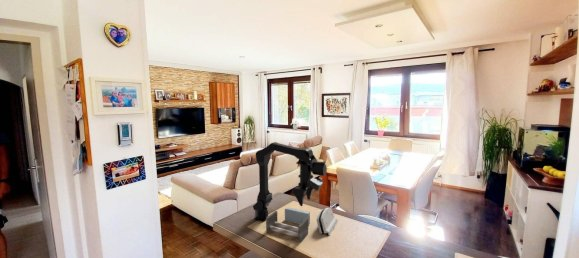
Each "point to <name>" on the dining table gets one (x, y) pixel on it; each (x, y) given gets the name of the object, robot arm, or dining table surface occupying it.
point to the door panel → (296, 215)
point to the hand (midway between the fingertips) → (305, 202)
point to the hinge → (326, 221)
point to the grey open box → (286, 229)
